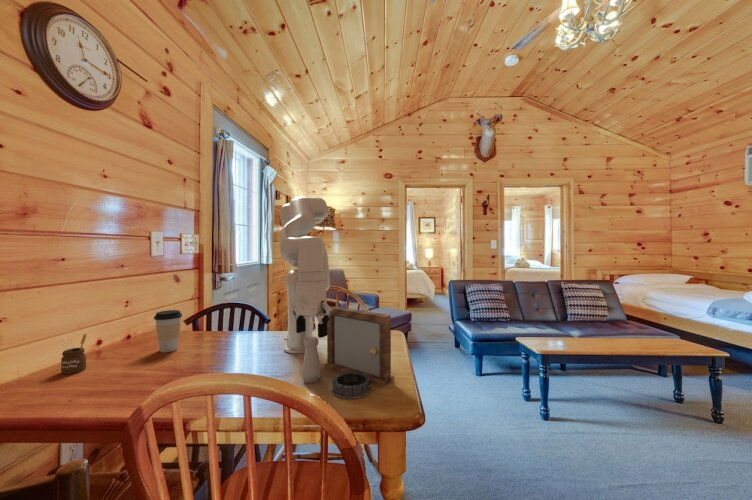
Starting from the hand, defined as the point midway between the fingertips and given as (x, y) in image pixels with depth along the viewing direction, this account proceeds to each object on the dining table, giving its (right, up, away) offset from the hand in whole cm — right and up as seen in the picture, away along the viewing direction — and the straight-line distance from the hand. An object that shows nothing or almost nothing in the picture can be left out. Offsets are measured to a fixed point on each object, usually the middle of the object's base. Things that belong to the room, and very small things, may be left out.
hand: (311, 334), depth 94 cm
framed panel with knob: (+13, -14, +6) cm, 20 cm away
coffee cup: (-63, -14, +29) cm, 71 cm away
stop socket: (+12, -14, -6) cm, 20 cm away
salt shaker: (0, -14, +1) cm, 14 cm away
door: (+13, -13, +5) cm, 19 cm away
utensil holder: (-80, -15, +8) cm, 81 cm away
